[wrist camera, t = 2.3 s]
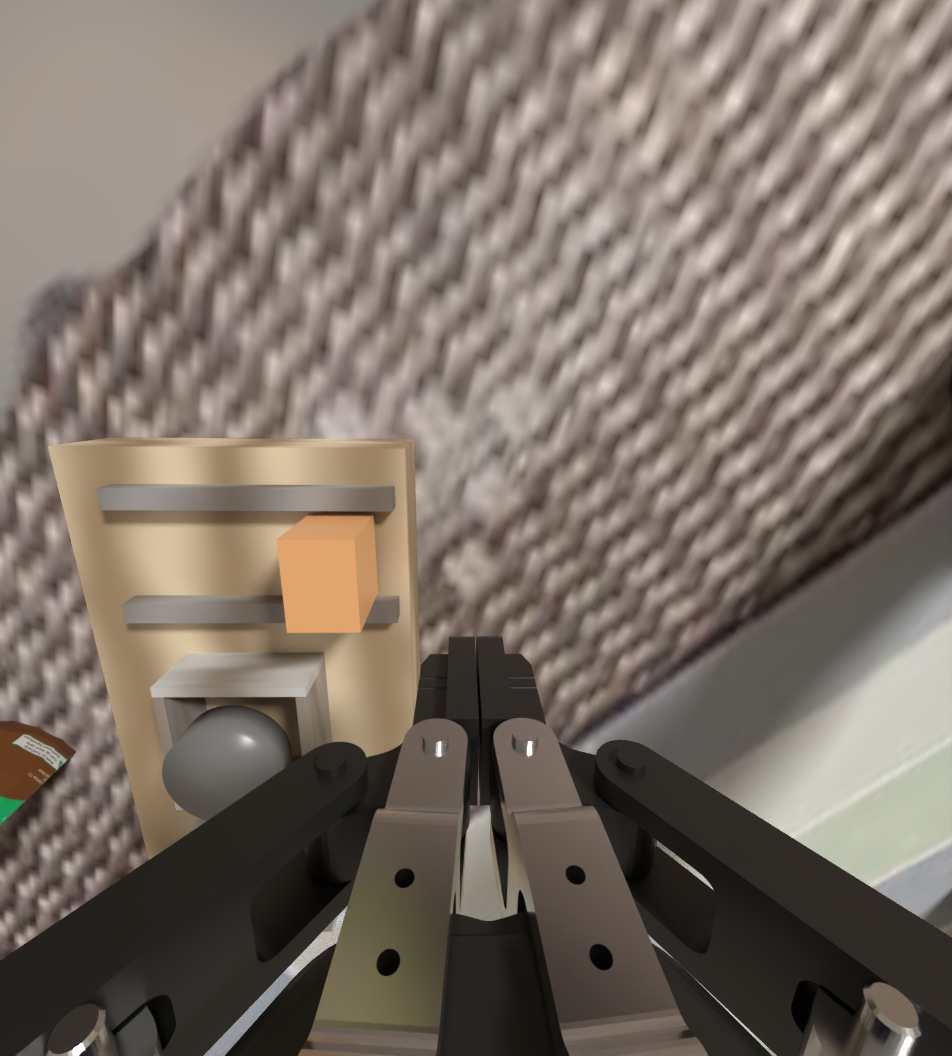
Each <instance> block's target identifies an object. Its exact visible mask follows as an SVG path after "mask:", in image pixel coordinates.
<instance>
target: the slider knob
mask: <svg viewBox="0 0 952 1056" xmlns="http://www.w3.org/2000/svg"><path fill="white" fill-rule="evenodd" d="M276 542H277V550H278V559H279V568H280V576H281V585H282V594H283V603H284V611H285V620H286V629H287V633H361V630H362V628H363V626H364V624H365V621H366V619H367V617H368V614H369V612H370V610H371V607H372V605H373V603H374V601H375V598H376V596H377V594H378V584H377V565H376V546H375V527H374V514H308V515H307V516H306V517H304V518H303V519H302V520H301V521H299V522H298V523H297V524H296V525H294V526H293V527H292V528H291V529H289V530H288V531H287V532H285V533H284V534H283V535H282V536H280V537H279V538H278V539H277V540H276Z"/></svg>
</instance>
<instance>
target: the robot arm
mask: <svg viewBox="0 0 952 1056" xmlns="http://www.w3.org/2000/svg"><path fill="white" fill-rule="evenodd" d="M478 768H479V790H480V805H490V813H491V829H490V839H491V847H492V853H493V860H494V867H495V874H496V880H497V887H498V894H499V901H500V907H501V914H502V919H498V920H495V921H483V920H479V919H475V918H471V917H468V916H464V915H461V910H462V896H463V882H464V867H465V853H466V831H467V829H468V827H469V821H470V805H477V793H478ZM657 840H658V841H659V842H660V843H662V844H663V845H664V846H665V847H667V848H668V849H669V850H671V851H672V852H673V853H675V854H676V855H677V856H678V857H680V858H681V859H682V860H684V861H685V862H686V863H688V864H689V865H690V866H691V867H693V868H694V869H695V870H697V871H698V872H699V873H700V874H702V875H703V876H704V877H705V878H706V879H707V881H708V882H709V883H710V884H711V886H712V887H713V889H714V890H712V889H711V888H710V887H709V886H707V885H706V884H705V883H703V882H702V881H701V880H700V879H698V878H697V877H696V876H695V875H693V874H692V873H691V872H689V871H688V870H687V869H686V868H684V867H683V866H682V865H680V864H679V863H678V862H677V861H675V860H674V859H673V858H671V857H670V856H669V855H668V854H666V853H665V852H664V851H663V850H661V849H660V848H659V847H657V846H656V843H657ZM347 905H348V907H347V910H346V913H345V917H344V920H343V924H342V927H341V931H340V934H339V937H338V941H337V943H336V944H334V945H333V946H331V947H329V948H328V949H326V950H325V951H324V952H322V953H321V954H320V955H318V956H317V957H316V958H314V959H313V960H312V961H311V962H310V963H309V964H308V965H307V966H305V967H304V968H303V969H302V970H301V971H300V972H299V973H298V974H297V975H296V976H295V977H294V978H293V979H292V980H291V982H290V983H289V984H288V985H287V986H286V987H285V988H284V989H283V991H282V992H281V993H280V994H279V995H278V996H277V997H276V998H275V1000H274V1001H273V1002H272V1003H271V1004H270V1005H269V1006H268V1007H267V1009H266V1010H265V1011H264V1012H263V1013H262V1014H261V1015H260V1017H259V1018H258V1019H257V1020H256V1021H255V1022H254V1023H253V1024H252V1026H251V1027H250V1028H249V1029H248V1030H247V1031H246V1032H245V1033H244V1035H243V1036H242V1037H241V1038H240V1039H239V1040H238V1041H237V1042H236V1044H235V1045H234V1046H233V1047H232V1048H231V1049H230V1050H229V1051H228V1053H227V1054H226V1055H225V1056H772V1055H771V1054H770V1053H769V1052H768V1051H767V1050H766V1049H765V1048H764V1047H763V1046H762V1045H761V1044H760V1043H759V1042H758V1041H757V1040H756V1039H755V1038H754V1037H753V1036H752V1035H751V1034H750V1033H749V1032H748V1031H747V1030H746V1029H745V1028H744V1027H743V1026H742V1025H741V1024H740V1023H739V1022H738V1021H737V1020H736V1019H735V1018H734V1017H733V1016H732V1015H731V1014H730V1013H729V1012H728V1011H727V1010H726V1009H725V1008H724V1007H723V1006H722V1005H721V1004H720V1003H719V1002H718V1001H720V1002H721V1003H722V1004H723V1005H724V1006H725V1007H726V1008H727V1009H728V1010H729V1011H730V1012H731V1013H732V1014H733V1015H734V1016H735V1017H737V1018H738V1019H739V1020H740V1021H741V1022H742V1023H743V1024H744V1025H745V1026H746V1027H747V1028H748V1029H749V1030H750V1031H751V1032H752V1033H753V1034H755V1035H756V1036H757V1037H758V1038H759V1039H760V1040H761V1041H762V1042H763V1043H764V1044H765V1045H766V1046H767V1047H768V1048H769V1049H770V1050H771V1051H773V1052H774V1053H775V1054H776V1055H777V1056H952V938H951V937H950V936H948V935H947V934H945V933H943V932H942V931H940V930H939V929H937V928H935V927H934V926H932V925H931V924H929V923H927V922H926V921H924V920H923V919H921V918H919V917H918V916H916V915H915V914H913V913H911V912H910V911H908V910H907V909H905V908H903V907H902V906H900V905H899V904H897V903H895V902H894V901H892V900H891V899H889V898H887V897H886V896H884V895H883V894H881V893H879V892H878V891H876V890H875V889H873V888H871V887H870V886H868V885H867V884H865V883H863V882H862V881H860V880H859V879H857V878H855V877H854V876H852V875H851V874H849V873H847V872H846V871H844V870H843V869H841V868H839V867H838V866H836V865H835V864H833V863H831V862H830V861H828V860H827V859H825V858H823V857H822V856H820V855H819V854H817V853H815V852H814V851H812V850H811V849H809V848H807V847H806V846H804V845H803V844H801V843H799V842H798V841H796V840H795V839H793V838H791V837H790V836H788V835H787V834H785V833H783V832H782V831H780V830H779V829H777V828H775V827H774V826H772V825H771V824H769V823H767V822H766V821H764V820H763V819H761V818H759V817H758V816H756V815H755V814H753V813H751V812H750V811H748V810H747V809H745V808H743V807H742V806H740V805H739V804H737V803H735V802H734V801H732V800H731V799H729V798H727V797H726V796H724V795H723V794H721V793H719V792H718V791H716V790H715V789H713V788H711V787H710V786H708V785H707V784H705V783H703V782H702V781H700V780H699V779H697V778H695V777H694V776H692V775H691V774H689V773H687V772H686V771H684V770H683V769H681V768H679V767H678V766H676V765H675V764H673V763H671V762H670V761H668V760H667V759H665V758H663V757H662V756H660V755H659V754H657V753H655V752H654V751H652V750H651V749H649V748H647V747H645V746H644V745H641V744H639V743H636V742H632V741H627V740H614V741H610V742H607V743H605V744H603V745H602V746H601V747H600V748H599V749H598V751H597V754H596V755H593V754H588V753H584V752H580V751H577V750H573V749H571V748H568V747H566V746H564V745H563V744H561V743H560V742H558V741H557V738H556V736H555V734H554V732H553V731H552V730H551V729H550V728H549V727H548V726H547V725H546V722H545V718H544V715H543V711H542V707H541V703H540V699H539V695H538V691H537V689H536V683H535V679H534V675H533V671H532V667H531V664H530V663H529V662H528V661H527V660H526V659H525V658H524V657H523V656H522V655H521V654H505V652H504V646H503V640H502V636H477V637H476V655H475V637H449V652H448V654H430V655H429V656H428V658H427V659H426V660H425V661H424V662H423V663H422V665H421V670H420V678H419V684H418V691H417V698H416V705H415V712H414V719H413V726H412V727H411V728H410V729H409V730H408V731H407V733H406V734H405V736H404V739H403V743H402V744H400V745H399V746H398V747H396V748H394V749H392V750H390V751H388V752H385V753H381V754H378V755H374V756H370V757H366V755H365V752H364V751H363V750H362V749H361V748H360V747H359V746H357V745H355V744H352V743H349V742H331V743H327V744H324V745H321V746H319V747H316V748H315V749H313V750H311V751H310V752H308V753H307V754H305V755H304V756H302V757H301V758H299V759H298V760H296V761H295V762H293V763H292V764H290V765H289V766H287V767H286V768H284V769H283V770H282V771H280V772H279V773H277V774H276V775H274V776H273V777H271V778H270V779H268V780H267V781H265V782H264V783H262V784H261V785H259V786H258V787H256V788H255V789H253V790H252V791H250V792H249V793H248V794H246V795H245V796H243V797H242V798H240V799H239V800H237V801H236V802H234V803H233V804H231V805H230V806H228V807H227V808H225V809H224V810H222V811H221V812H219V813H218V814H216V815H215V816H214V817H212V818H211V819H209V820H208V821H206V822H205V823H203V824H202V825H200V826H199V827H197V828H196V829H194V830H193V831H191V832H190V833H188V834H187V835H185V836H184V837H182V838H181V839H180V840H178V841H177V842H175V843H174V844H172V845H171V846H169V847H168V848H166V849H165V850H163V851H162V852H160V853H159V854H157V855H156V856H154V857H153V858H151V859H150V860H148V861H147V862H146V863H144V864H143V865H141V866H140V867H138V868H137V869H135V870H134V871H132V872H131V873H129V874H128V875H126V876H125V877H123V878H122V879H120V880H119V881H117V882H116V883H114V884H113V885H112V886H110V887H109V888H107V889H106V890H104V891H103V892H101V893H100V894H98V895H97V896H95V897H94V898H92V899H91V900H89V901H88V902H86V903H85V904H83V905H82V906H80V907H79V908H78V909H76V910H75V911H73V912H72V913H70V914H69V915H67V916H66V917H64V918H63V919H61V920H60V921H58V922H57V923H55V924H54V925H52V926H51V927H49V928H48V929H46V930H45V931H44V932H42V933H41V934H39V935H38V936H36V937H35V938H33V939H32V940H30V941H29V942H27V943H26V944H24V945H23V946H21V947H20V948H18V949H17V950H15V951H14V952H12V953H11V954H10V955H8V956H7V957H5V958H4V959H2V960H1V961H0V1056H203V1055H204V1054H205V1053H206V1052H207V1051H208V1050H209V1049H210V1048H211V1047H212V1046H213V1045H214V1044H215V1043H216V1042H217V1041H218V1040H219V1039H220V1038H221V1037H222V1036H223V1035H224V1034H225V1032H226V1031H227V1030H228V1029H229V1028H230V1027H231V1026H232V1025H233V1024H234V1023H235V1022H236V1021H237V1020H238V1019H239V1018H240V1017H241V1016H242V1015H243V1014H244V1013H245V1012H246V1011H247V1010H248V1009H249V1007H250V1006H251V1005H252V1004H253V1003H254V1002H255V1001H256V1000H257V999H258V998H259V997H260V996H261V995H262V994H263V993H264V992H265V991H266V990H267V989H268V988H269V987H270V986H271V985H272V984H273V982H274V981H275V980H276V979H277V978H278V977H279V976H280V975H281V974H282V973H283V972H284V971H285V970H286V969H287V968H288V967H289V966H290V965H291V964H292V963H293V962H294V961H295V960H296V959H297V957H298V956H299V955H300V954H301V953H302V952H303V951H304V950H305V949H306V948H307V947H308V946H309V945H310V944H311V943H312V942H313V941H314V940H315V939H316V938H317V937H318V936H319V935H320V934H321V932H322V931H323V930H324V929H325V928H326V927H327V926H328V925H329V924H330V923H331V922H332V921H333V920H334V919H335V918H336V917H337V916H338V915H339V914H340V913H341V912H342V911H343V910H344V909H345V907H346V906H347ZM648 935H650V936H651V937H652V938H653V939H654V940H655V941H656V942H657V943H658V944H659V945H660V946H661V947H662V948H663V949H664V950H665V951H667V952H668V953H669V954H670V955H671V956H672V957H673V958H674V959H675V960H676V961H675V960H674V959H673V958H672V957H670V956H669V955H668V954H667V953H665V952H664V951H663V950H661V949H660V948H658V947H657V946H655V945H654V944H652V943H651V941H650V938H649V936H648ZM684 968H685V969H686V970H687V971H688V972H689V973H690V974H691V975H692V976H693V977H694V978H695V979H696V980H697V981H698V982H699V983H700V984H702V985H703V986H704V987H705V988H706V989H707V990H708V991H709V992H710V993H711V994H712V995H713V996H714V997H715V998H716V999H717V1000H718V1001H717V1000H716V999H715V998H714V997H712V996H711V995H710V994H709V993H708V992H707V991H706V990H705V989H704V988H703V987H702V986H701V985H700V984H699V983H698V982H697V981H696V980H695V979H694V978H693V977H692V976H691V975H690V974H689V973H688V972H687V971H686V970H685V969H684Z"/></svg>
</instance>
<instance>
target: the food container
mask: <svg viewBox="0 0 952 1056" xmlns="http://www.w3.org/2000/svg"><path fill="white" fill-rule="evenodd" d="M75 752H76V751H75V750H74V749H72V748H71V747H70V746H69V745H68V744H66V743H65V742H64V741H63V740H61V739H60V738H58V737H56V736H54V735H52V734H50V733H48V732H46V731H44V730H43V729H41V728H38V727H35V726H31V725H27V724H23V723H20V722H16V721H0V825H1V824H2V823H3V822H4V821H5V820H6V819H7V818H8V817H9V816H10V815H11V814H12V813H13V812H14V811H15V810H16V809H17V808H19V807H20V806H21V805H22V804H23V803H24V802H25V801H26V800H27V799H28V798H29V797H30V796H31V795H32V794H33V793H34V792H35V791H36V790H37V789H38V788H39V787H40V786H41V785H42V784H43V783H44V782H45V781H46V780H47V779H48V778H50V777H51V776H52V775H53V774H54V773H55V772H56V771H57V770H58V769H59V768H60V767H61V766H62V765H63V764H64V763H65V762H66V761H67V760H68V759H69V758H70V757H71V756H72V755H73V754H74V753H75Z"/></svg>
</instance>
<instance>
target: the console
mask: <svg viewBox="0 0 952 1056" xmlns="http://www.w3.org/2000/svg"><path fill="white" fill-rule="evenodd" d="M48 448H49V452H50V456H51V460H52V464H53V469H54V473H55V477H56V481H57V485H58V489H59V493H60V497H61V501H62V506H63V510H64V514H65V518H66V522H67V526H68V530H69V534H70V538H71V543H72V547H73V551H74V555H75V559H76V563H77V567H78V571H79V575H80V580H81V584H82V588H83V592H84V596H85V600H86V604H87V608H88V613H89V617H90V621H91V625H92V629H93V633H94V637H95V641H96V645H97V650H98V654H99V658H100V662H101V666H102V670H103V674H104V678H105V682H106V687H107V691H108V695H109V699H110V703H111V707H112V711H113V715H114V719H115V724H116V728H117V732H118V736H119V740H120V744H121V748H122V752H123V756H124V761H125V765H126V769H127V773H128V777H129V781H130V785H131V789H132V793H133V798H134V802H135V806H136V810H137V814H138V818H139V822H140V826H141V830H142V835H143V839H144V843H145V847H146V851H147V855H148V859H149V860H150V859H151V858H153V857H154V856H156V855H157V854H159V853H160V852H162V851H163V850H165V849H166V848H168V847H169V846H171V845H172V844H174V843H175V842H177V841H178V840H180V839H181V838H182V837H184V836H185V835H187V834H188V833H190V832H191V831H193V830H194V829H196V828H197V827H199V826H200V825H202V824H203V823H205V822H206V820H203V819H200V818H198V817H195V816H193V815H191V814H190V813H188V812H186V811H185V810H184V809H182V808H181V807H180V806H179V805H178V804H177V803H175V801H174V800H173V799H172V798H171V796H170V795H169V793H168V792H167V790H166V788H165V785H164V782H163V777H162V766H163V762H164V759H165V757H166V755H167V753H168V752H169V750H170V749H171V748H172V747H173V745H174V744H175V743H176V742H177V741H178V739H179V738H180V737H181V736H182V734H183V733H184V732H185V731H186V730H187V728H188V727H189V726H190V725H191V724H192V722H193V721H194V720H195V719H196V718H197V717H198V716H199V715H201V714H202V713H204V712H205V711H207V710H210V709H212V708H215V707H219V706H225V705H240V706H246V707H250V708H253V709H256V710H258V711H261V712H263V713H265V714H266V715H268V716H269V717H271V718H272V719H274V720H275V721H276V722H277V723H278V724H279V725H280V726H281V727H282V728H283V730H284V731H285V733H286V735H287V736H288V738H289V741H290V744H291V749H292V758H291V763H290V764H292V763H293V762H295V761H296V760H298V759H299V758H301V757H302V756H304V755H305V754H307V753H308V752H310V751H311V750H313V749H315V748H316V747H319V746H321V745H324V744H327V743H331V742H349V743H352V744H355V745H357V746H359V747H360V748H361V749H362V750H363V751H364V752H365V755H366V757H370V756H374V755H378V754H381V753H385V752H388V751H390V750H392V749H394V748H396V747H398V746H399V745H400V744H402V743H403V739H404V736H405V734H406V733H407V731H408V730H409V729H410V728H411V727H412V726H413V719H414V712H415V705H416V698H417V691H418V684H419V678H420V643H419V606H418V570H417V533H416V497H415V460H414V440H389V439H253V438H116V437H112V438H104V439H97V440H90V441H83V442H76V443H68V444H61V445H54V446H48ZM308 514H374V527H375V546H376V565H377V584H378V594H377V596H376V598H375V601H374V603H373V605H372V607H371V610H370V612H369V614H368V617H367V619H366V621H365V624H364V626H363V628H362V630H361V633H287V629H286V620H285V611H284V603H283V594H282V585H281V576H280V568H279V559H278V550H277V542H276V540H277V539H278V538H279V537H280V536H282V535H283V534H284V533H285V532H287V531H288V530H289V529H291V528H292V527H293V526H294V525H296V524H297V523H298V522H299V521H301V520H302V519H303V518H304V517H306V516H307V515H308ZM336 920H337V917H336V918H335V919H334V920H333V921H332V922H331V923H330V924H329V925H328V926H327V927H326V928H325V929H324V930H323V931H322V932H321V934H320V935H319V936H318V937H317V938H332V936H333V932H334V928H335V924H336Z"/></svg>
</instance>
